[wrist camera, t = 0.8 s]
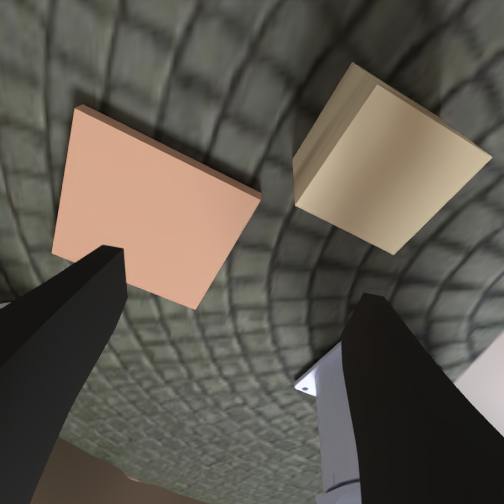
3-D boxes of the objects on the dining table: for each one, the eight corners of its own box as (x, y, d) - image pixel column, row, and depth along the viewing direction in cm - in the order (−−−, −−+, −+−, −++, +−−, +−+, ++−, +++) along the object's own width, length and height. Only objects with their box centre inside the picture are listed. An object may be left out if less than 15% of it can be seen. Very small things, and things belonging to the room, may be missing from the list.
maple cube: (439, 117, 16) (492, 157, 12) (370, 200, 18) (393, 254, 14) (351, 61, 15) (377, 84, 11) (292, 158, 17) (295, 205, 13)
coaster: (261, 193, 19) (260, 200, 18) (197, 301, 24) (195, 309, 24) (83, 104, 16) (74, 108, 16) (58, 245, 22) (51, 253, 21)
